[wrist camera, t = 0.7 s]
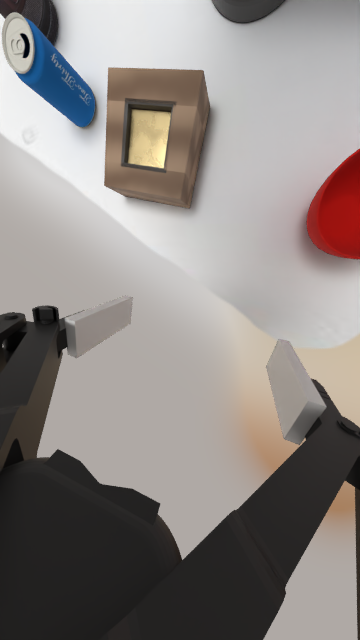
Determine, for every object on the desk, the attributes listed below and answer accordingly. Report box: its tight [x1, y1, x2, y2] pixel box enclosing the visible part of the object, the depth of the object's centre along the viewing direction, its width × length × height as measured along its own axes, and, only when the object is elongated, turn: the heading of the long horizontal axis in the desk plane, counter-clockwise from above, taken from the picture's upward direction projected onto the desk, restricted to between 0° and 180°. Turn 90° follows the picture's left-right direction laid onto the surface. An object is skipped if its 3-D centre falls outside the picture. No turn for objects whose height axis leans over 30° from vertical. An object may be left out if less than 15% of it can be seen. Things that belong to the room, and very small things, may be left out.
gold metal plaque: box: [128, 109, 171, 168], centre depth 30 cm, size 7×7×1 cm
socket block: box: [104, 68, 210, 208], centre depth 31 cm, size 15×15×6 cm
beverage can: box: [2, 12, 95, 127], centre depth 30 cm, size 6×6×12 cm
